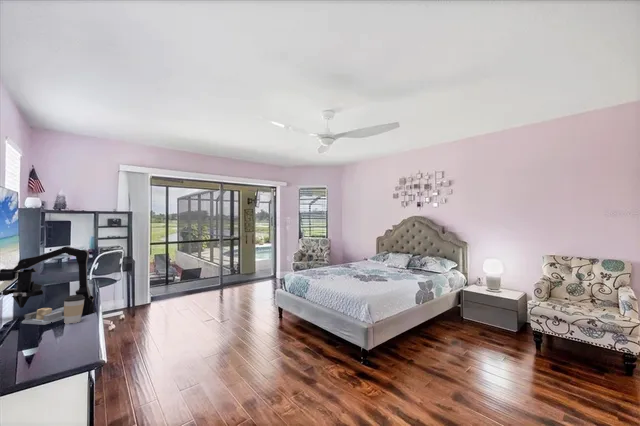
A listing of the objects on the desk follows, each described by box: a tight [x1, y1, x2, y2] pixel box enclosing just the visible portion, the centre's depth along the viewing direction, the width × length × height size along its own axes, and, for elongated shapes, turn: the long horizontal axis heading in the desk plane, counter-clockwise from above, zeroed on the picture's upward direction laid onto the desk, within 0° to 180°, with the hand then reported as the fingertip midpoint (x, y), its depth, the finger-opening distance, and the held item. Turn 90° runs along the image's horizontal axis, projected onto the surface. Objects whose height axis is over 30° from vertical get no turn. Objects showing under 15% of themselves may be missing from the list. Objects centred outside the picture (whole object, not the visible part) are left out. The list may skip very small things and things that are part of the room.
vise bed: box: [21, 310, 64, 326], centre depth 157 cm, size 14×11×4 cm
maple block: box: [36, 307, 53, 320], centre depth 157 cm, size 5×4×6 cm
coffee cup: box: [63, 294, 85, 325], centre depth 157 cm, size 9×9×15 cm
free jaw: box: [23, 311, 37, 320], centre depth 158 cm, size 4×8×3 cm, turn 177°
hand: (21, 307), depth 159 cm, fingers closed
